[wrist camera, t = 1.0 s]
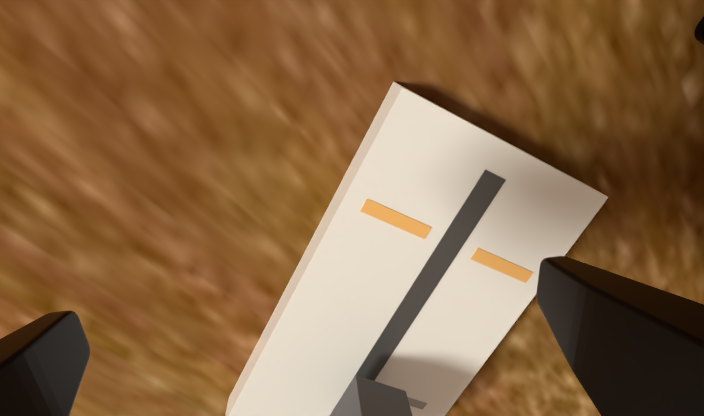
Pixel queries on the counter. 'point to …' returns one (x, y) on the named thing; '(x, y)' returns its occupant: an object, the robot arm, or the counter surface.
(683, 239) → the counter surface
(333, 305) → the fader panel
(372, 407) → the fader knob
